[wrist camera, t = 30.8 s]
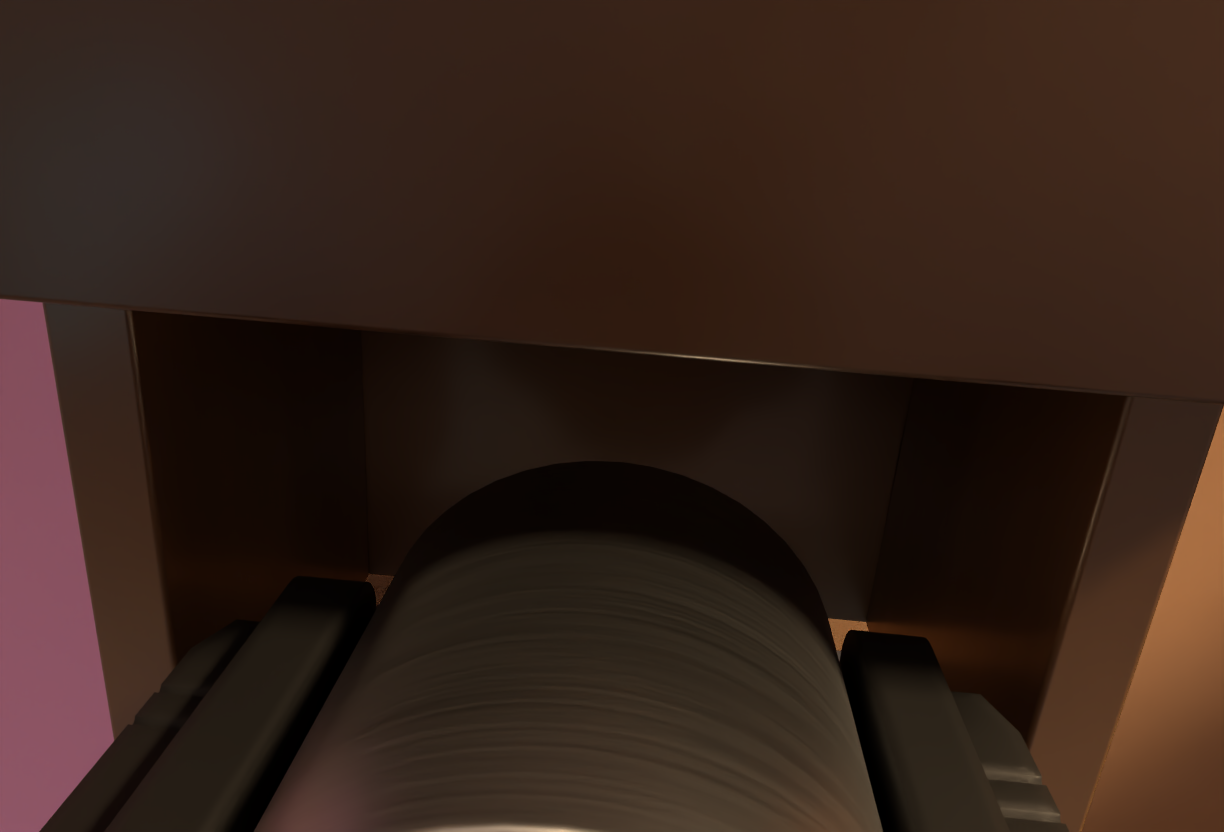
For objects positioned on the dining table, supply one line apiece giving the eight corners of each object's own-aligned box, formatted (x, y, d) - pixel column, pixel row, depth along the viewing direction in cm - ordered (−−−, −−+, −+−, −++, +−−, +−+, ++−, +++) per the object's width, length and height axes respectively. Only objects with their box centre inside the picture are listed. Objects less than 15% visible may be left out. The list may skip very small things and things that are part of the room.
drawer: (861, 929, 19) (957, 1399, 13) (328, 870, 20) (145, 1293, 13) (1101, -109, 12) (1610, -307, 6) (265, -163, 13) (-200, -405, 6)
